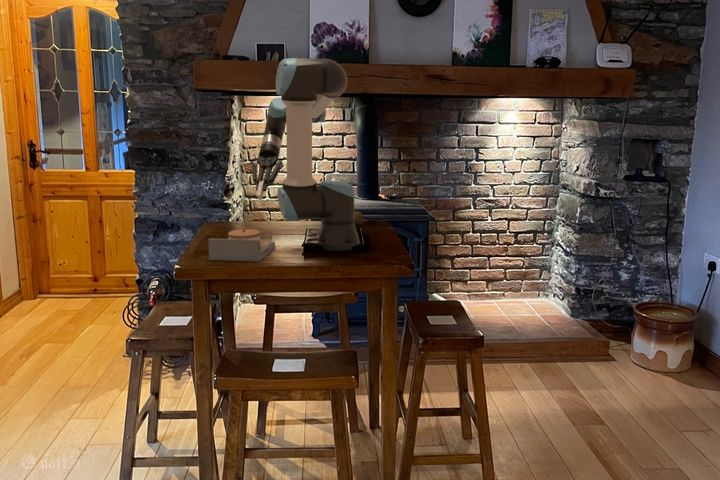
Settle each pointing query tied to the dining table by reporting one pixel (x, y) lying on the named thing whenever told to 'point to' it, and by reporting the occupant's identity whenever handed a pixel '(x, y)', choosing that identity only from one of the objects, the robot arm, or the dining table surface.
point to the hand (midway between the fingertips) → (259, 197)
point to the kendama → (357, 218)
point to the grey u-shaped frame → (238, 250)
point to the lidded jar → (244, 234)
